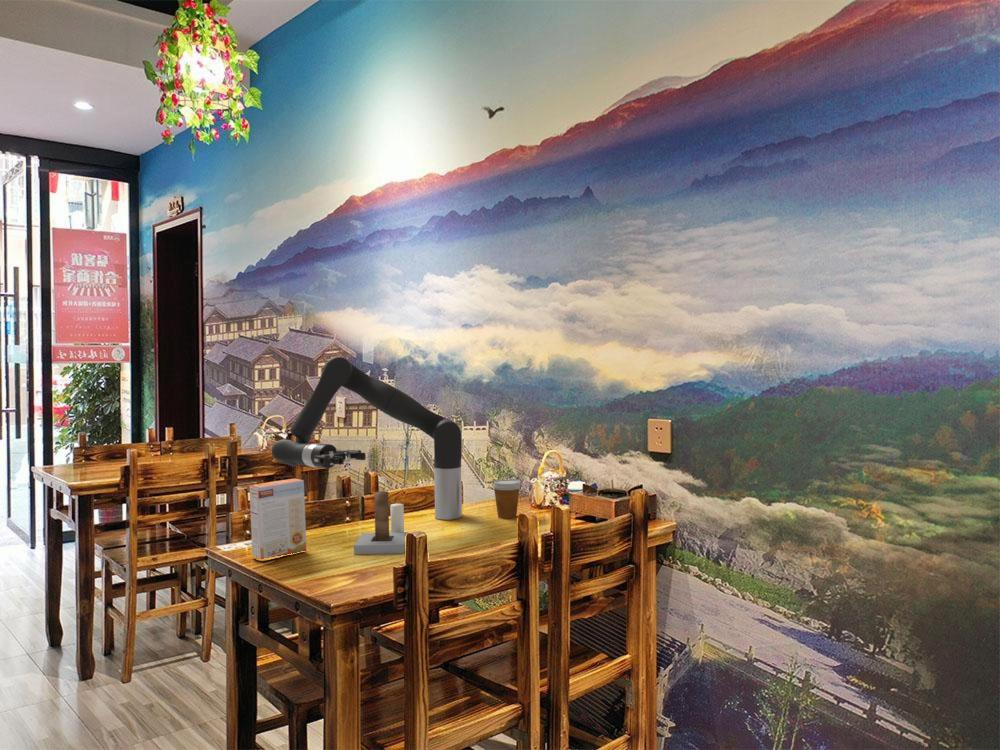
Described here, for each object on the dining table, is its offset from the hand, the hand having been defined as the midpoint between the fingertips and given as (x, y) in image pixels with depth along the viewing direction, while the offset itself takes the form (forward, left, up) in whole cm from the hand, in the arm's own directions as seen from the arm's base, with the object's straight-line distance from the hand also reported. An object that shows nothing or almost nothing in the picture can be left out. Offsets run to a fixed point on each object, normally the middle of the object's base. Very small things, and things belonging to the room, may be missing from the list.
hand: (353, 458), depth 221 cm
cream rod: (-3, +12, -25) cm, 28 cm away
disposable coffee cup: (-28, +46, -25) cm, 60 cm away
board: (+8, +9, -25) cm, 28 cm away
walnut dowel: (+8, +9, -25) cm, 28 cm away
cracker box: (+15, -19, -25) cm, 35 cm away
